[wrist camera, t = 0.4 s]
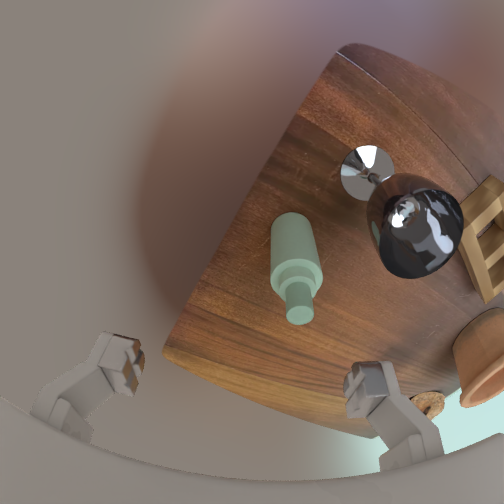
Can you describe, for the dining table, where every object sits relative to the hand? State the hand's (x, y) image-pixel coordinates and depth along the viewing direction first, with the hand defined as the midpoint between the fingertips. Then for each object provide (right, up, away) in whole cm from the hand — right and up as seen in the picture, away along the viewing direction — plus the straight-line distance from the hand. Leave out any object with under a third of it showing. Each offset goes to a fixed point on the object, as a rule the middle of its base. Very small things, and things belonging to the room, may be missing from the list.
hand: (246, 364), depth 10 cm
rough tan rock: (+50, -41, +55) cm, 85 cm away
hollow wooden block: (+38, +6, +24) cm, 46 cm away
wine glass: (+14, +14, +21) cm, 29 cm away
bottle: (+5, +7, +26) cm, 27 cm away
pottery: (+54, -15, +37) cm, 67 cm away
